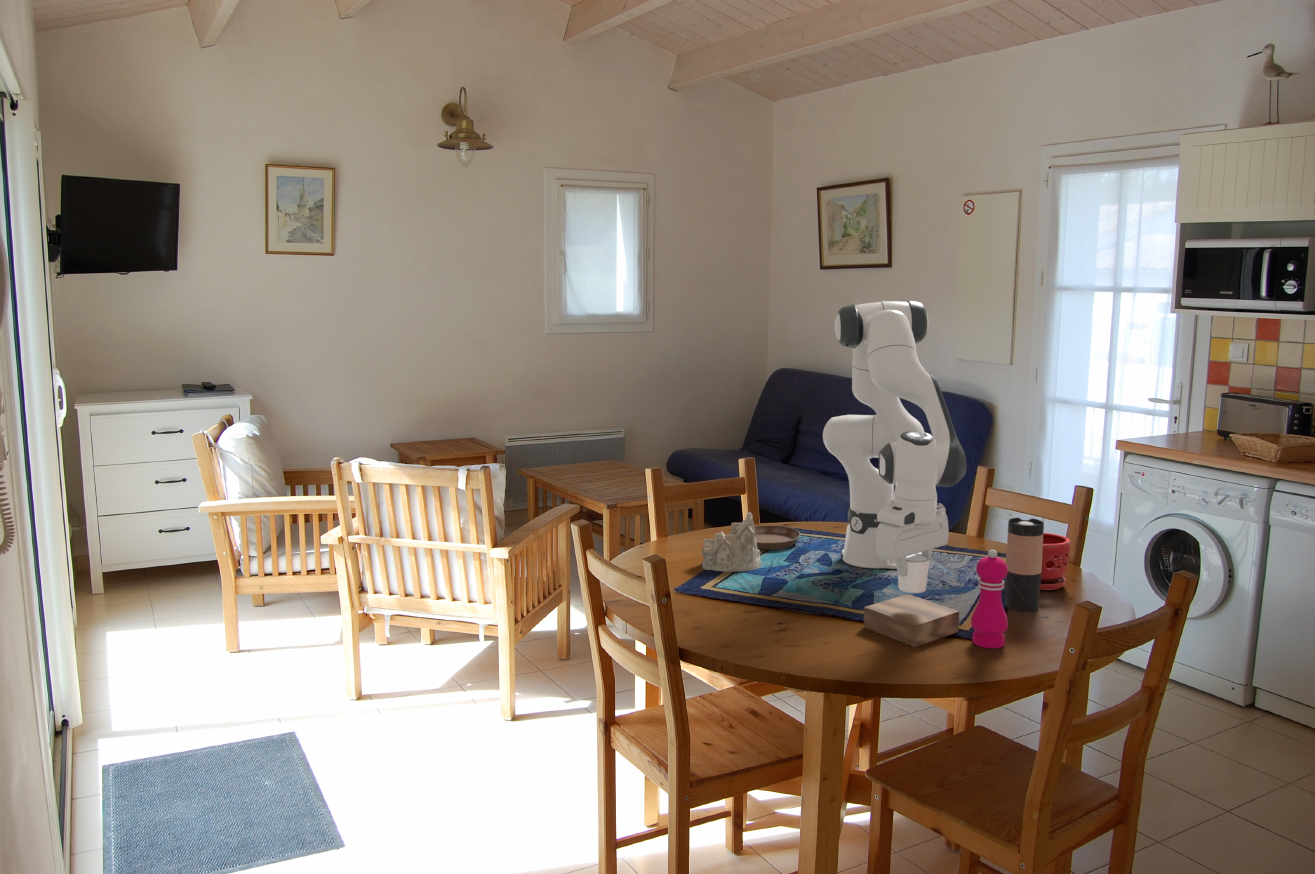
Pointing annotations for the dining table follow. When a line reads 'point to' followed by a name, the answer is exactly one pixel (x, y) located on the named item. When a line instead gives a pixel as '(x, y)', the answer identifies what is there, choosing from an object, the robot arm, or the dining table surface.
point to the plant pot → (1054, 561)
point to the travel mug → (1023, 564)
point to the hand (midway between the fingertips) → (912, 572)
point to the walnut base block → (911, 620)
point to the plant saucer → (775, 537)
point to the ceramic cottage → (733, 549)
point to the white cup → (915, 574)
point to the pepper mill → (990, 603)
